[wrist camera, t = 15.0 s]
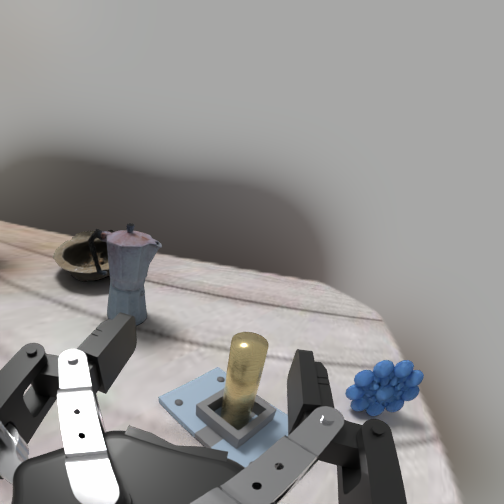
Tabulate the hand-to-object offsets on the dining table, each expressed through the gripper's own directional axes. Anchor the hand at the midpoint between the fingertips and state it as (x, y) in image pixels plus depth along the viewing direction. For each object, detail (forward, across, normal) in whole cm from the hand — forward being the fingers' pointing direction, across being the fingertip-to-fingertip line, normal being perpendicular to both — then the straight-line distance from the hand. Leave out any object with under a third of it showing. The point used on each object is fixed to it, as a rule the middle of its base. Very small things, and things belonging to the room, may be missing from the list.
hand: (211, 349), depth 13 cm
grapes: (+19, +24, -25) cm, 40 cm away
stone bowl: (+50, -42, -26) cm, 70 cm away
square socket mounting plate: (+14, +2, -25) cm, 29 cm away
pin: (+14, +2, -24) cm, 28 cm away
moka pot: (+34, -24, -25) cm, 49 cm away
